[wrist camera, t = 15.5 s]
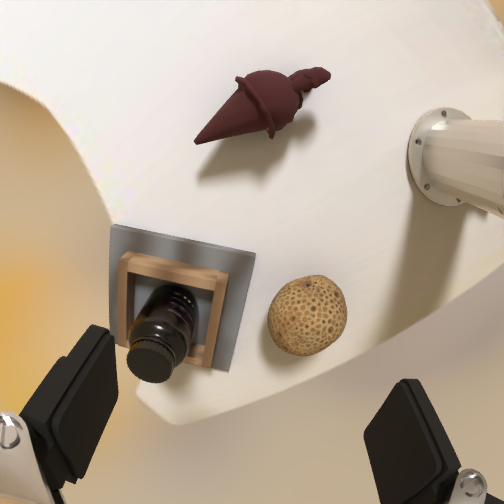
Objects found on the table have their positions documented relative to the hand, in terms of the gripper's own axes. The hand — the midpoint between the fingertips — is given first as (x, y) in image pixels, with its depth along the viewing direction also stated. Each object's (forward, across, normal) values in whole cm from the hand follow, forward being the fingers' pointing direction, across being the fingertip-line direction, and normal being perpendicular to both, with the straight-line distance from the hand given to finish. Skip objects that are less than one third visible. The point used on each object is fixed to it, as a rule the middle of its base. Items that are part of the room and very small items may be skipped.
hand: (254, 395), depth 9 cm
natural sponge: (+28, -8, +10) cm, 31 cm away
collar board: (+28, +8, +15) cm, 33 cm away
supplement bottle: (+27, +8, +15) cm, 32 cm away
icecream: (+29, +2, -11) cm, 31 cm away
